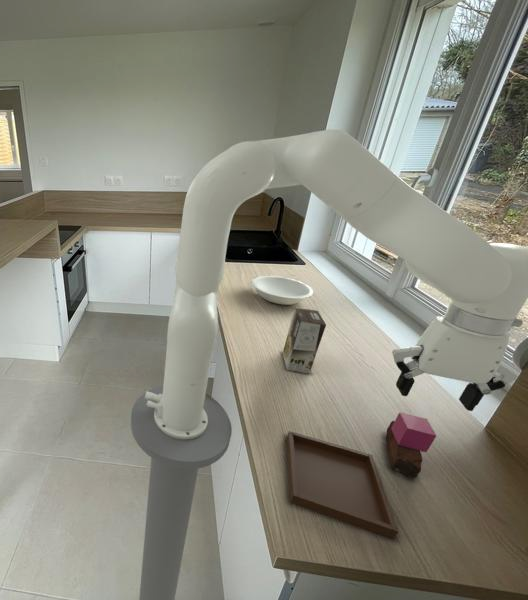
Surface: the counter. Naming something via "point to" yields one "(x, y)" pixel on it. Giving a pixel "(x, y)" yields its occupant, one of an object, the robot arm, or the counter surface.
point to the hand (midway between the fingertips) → (432, 398)
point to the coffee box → (303, 340)
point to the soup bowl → (281, 289)
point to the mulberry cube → (413, 432)
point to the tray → (338, 484)
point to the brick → (403, 456)
